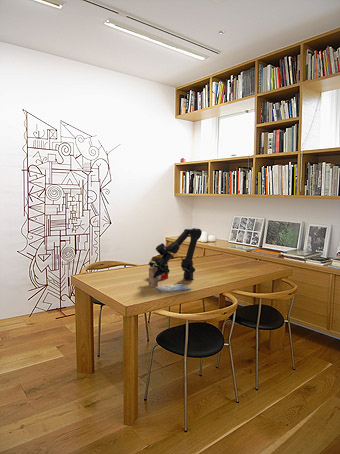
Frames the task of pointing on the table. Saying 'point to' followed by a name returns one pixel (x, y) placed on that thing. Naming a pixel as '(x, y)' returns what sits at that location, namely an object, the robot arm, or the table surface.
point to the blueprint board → (176, 287)
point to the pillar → (152, 281)
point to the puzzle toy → (163, 275)
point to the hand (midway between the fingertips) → (151, 277)
